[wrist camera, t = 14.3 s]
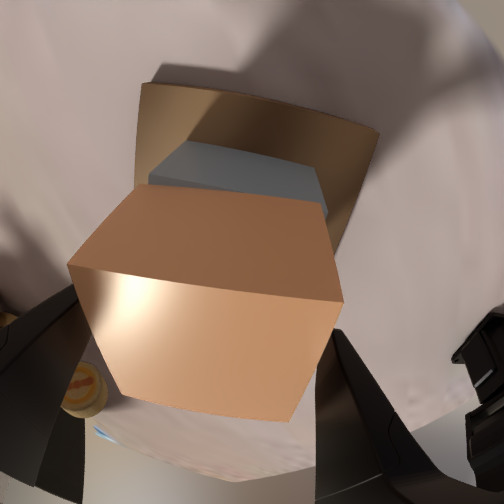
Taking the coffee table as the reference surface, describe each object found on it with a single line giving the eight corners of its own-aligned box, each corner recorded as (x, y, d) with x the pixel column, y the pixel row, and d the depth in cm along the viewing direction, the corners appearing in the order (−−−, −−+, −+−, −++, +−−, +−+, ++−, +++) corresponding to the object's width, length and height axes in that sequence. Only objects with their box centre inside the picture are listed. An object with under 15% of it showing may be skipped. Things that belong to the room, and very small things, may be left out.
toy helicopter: (-25, 280, 23) (-85, 365, 12) (112, 309, 22) (42, 464, 10) (4, 329, 28) (-42, 410, 16) (137, 367, 26) (96, 492, 15)
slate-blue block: (314, 167, 13) (328, 212, 10) (281, 268, 17) (280, 331, 13) (186, 140, 13) (148, 173, 9) (175, 245, 16) (147, 302, 13)
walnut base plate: (373, 129, 13) (380, 133, 12) (308, 296, 19) (309, 307, 18) (150, 81, 12) (141, 83, 11) (141, 260, 19) (135, 270, 18)
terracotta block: (320, 203, 9) (343, 302, 6) (289, 328, 13) (288, 422, 9) (139, 183, 10) (66, 264, 6) (155, 309, 13) (121, 394, 9)
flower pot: (72, 367, 29) (24, 484, 15) (109, 424, 40) (83, 507, 26) (-21, 324, 29) (-69, 408, 15) (26, 389, 40) (-4, 458, 26)
